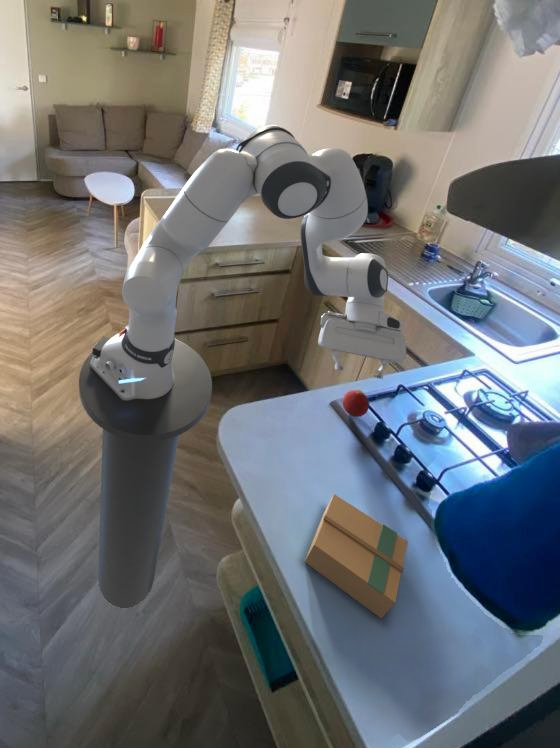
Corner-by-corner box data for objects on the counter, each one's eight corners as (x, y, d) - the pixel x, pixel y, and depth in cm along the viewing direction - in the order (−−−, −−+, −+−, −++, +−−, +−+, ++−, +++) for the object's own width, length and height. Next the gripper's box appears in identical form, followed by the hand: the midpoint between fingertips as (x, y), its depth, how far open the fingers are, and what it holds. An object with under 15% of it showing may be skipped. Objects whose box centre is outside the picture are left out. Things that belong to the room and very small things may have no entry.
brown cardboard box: (303, 562, 73) (313, 543, 70) (324, 510, 82) (333, 492, 78) (381, 620, 67) (396, 603, 64) (395, 558, 76) (409, 540, 72)
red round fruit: (360, 407, 105) (371, 384, 101) (365, 426, 100) (377, 403, 96) (336, 401, 105) (346, 379, 101) (340, 420, 100) (351, 397, 96)
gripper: (325, 308, 104) (318, 365, 101) (411, 324, 102) (407, 383, 98) (318, 311, 110) (311, 365, 107) (399, 327, 108) (395, 382, 105)
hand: (358, 374), depth 102 cm, fingers open, 8 cm apart
